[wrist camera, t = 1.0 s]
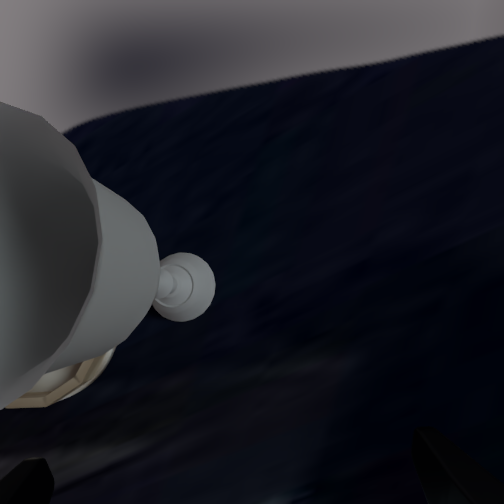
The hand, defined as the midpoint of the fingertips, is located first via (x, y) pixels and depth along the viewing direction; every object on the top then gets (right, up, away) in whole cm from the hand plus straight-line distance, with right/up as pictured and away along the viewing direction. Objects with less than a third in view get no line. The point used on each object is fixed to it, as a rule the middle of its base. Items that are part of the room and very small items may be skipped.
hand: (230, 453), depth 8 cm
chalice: (-5, +2, +17) cm, 18 cm away
